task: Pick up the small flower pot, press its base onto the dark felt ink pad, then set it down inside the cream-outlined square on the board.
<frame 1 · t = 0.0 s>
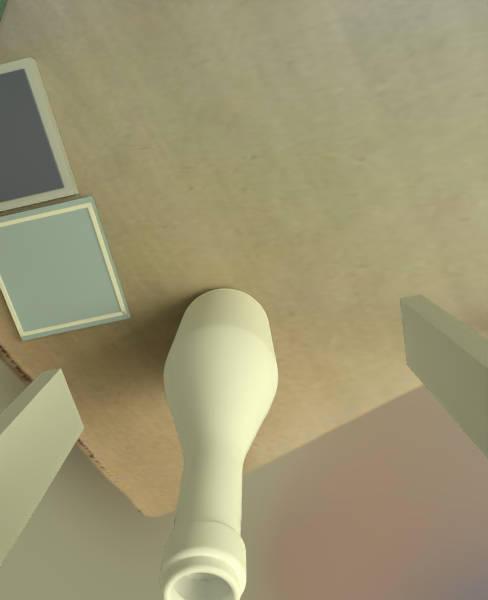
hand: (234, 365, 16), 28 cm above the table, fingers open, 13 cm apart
wine bottle: (225, 326, 45), on the table
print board: (57, 270, 43), on the table
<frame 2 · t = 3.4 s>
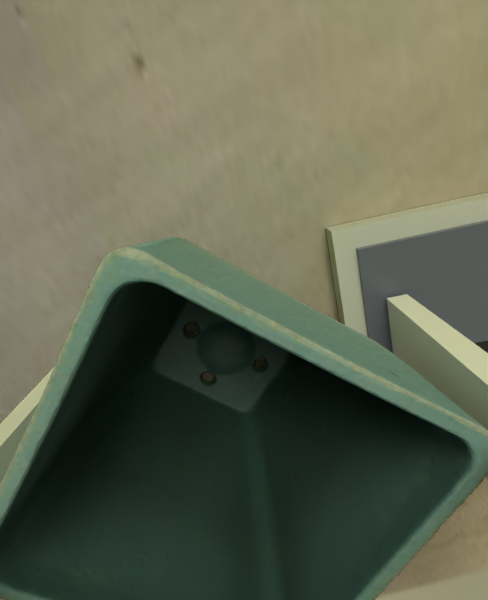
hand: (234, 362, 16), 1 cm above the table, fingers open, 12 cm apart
ink pad: (486, 336, 17), on the table
flower pot: (226, 344, 17), on the table, touching gripper
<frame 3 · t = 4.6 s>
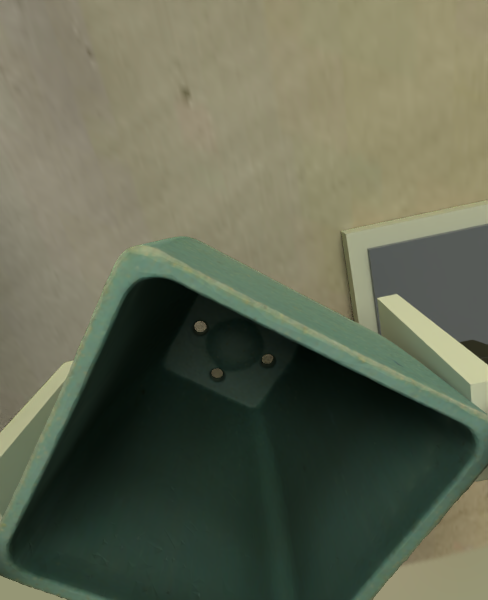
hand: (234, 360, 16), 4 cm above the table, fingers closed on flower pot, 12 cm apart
ink pad: (484, 328, 19), on the table
flower pot: (235, 341, 18), point 2 cm above the table, touching gripper
when the fingers open (3 cm above the table, at t = 14.4 s): flower pot drops 1 cm, resting on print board.
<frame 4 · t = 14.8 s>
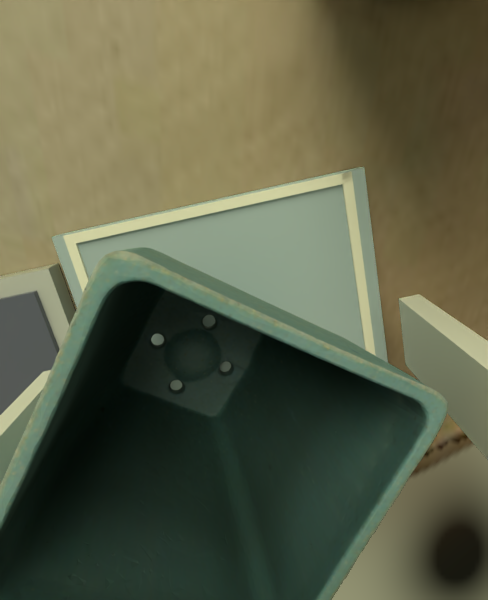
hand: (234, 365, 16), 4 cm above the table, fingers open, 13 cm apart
flower pot: (192, 352, 18), point 1 cm above the table, touching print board
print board: (236, 330, 19), on the table
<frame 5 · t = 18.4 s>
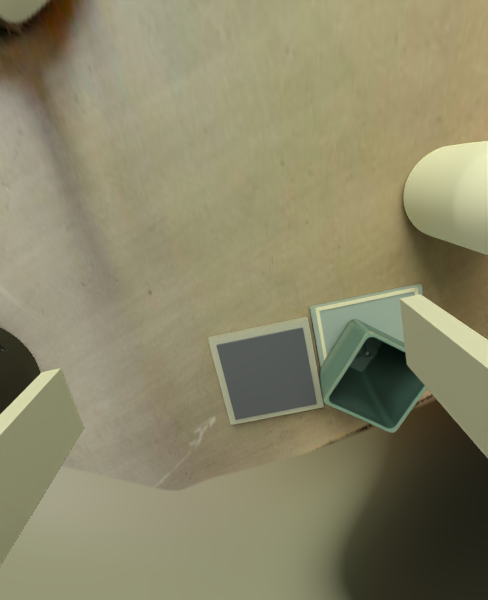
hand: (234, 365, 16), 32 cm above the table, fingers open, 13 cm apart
ink pad: (267, 370, 51), on the table
flower pot: (354, 347, 49), point 1 cm above the table, touching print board
wine bottle: (442, 192, 45), on the table
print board: (369, 341, 50), on the table
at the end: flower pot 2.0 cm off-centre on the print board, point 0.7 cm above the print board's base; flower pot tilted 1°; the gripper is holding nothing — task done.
